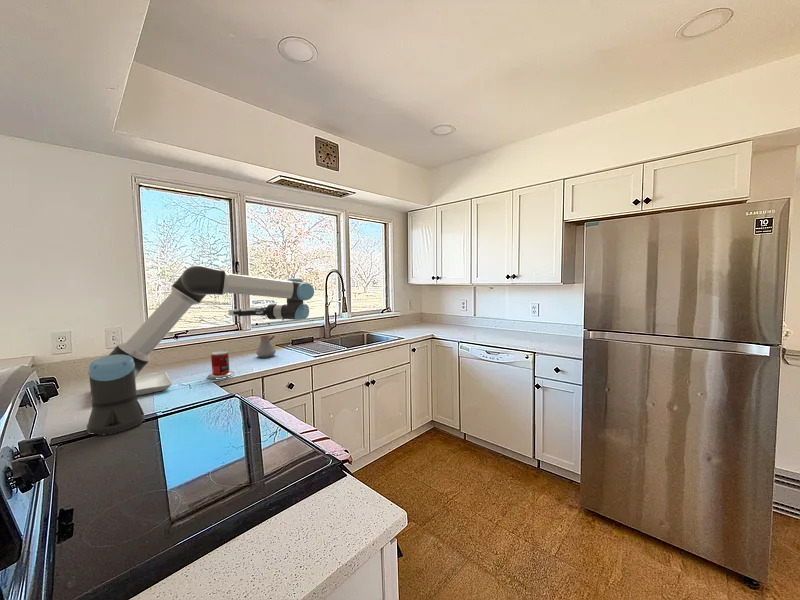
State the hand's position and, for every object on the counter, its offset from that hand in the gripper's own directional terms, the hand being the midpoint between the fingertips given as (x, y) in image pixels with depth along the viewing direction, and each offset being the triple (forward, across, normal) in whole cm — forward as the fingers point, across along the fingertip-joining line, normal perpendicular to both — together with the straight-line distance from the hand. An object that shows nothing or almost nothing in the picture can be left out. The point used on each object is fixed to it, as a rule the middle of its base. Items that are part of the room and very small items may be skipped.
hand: (239, 311), depth 168 cm
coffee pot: (+11, +39, -33) cm, 53 cm away
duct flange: (+12, 0, -33) cm, 36 cm away
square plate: (+36, -26, -34) cm, 56 cm away
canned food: (+12, 0, -32) cm, 35 cm away
